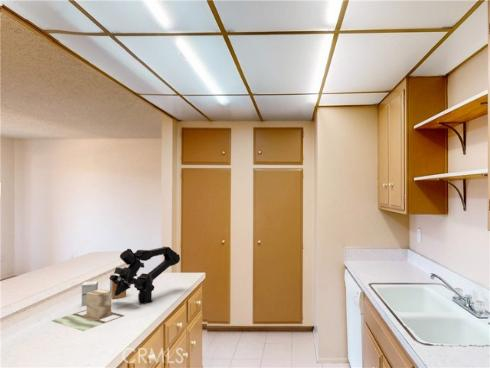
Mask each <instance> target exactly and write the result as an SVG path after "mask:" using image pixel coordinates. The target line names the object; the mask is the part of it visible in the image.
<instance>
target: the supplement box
mask: <svg viewBox="0 0 490 368" xmlns="http://www.w3.org/2000/svg"><path fill="white" fill-rule="evenodd" d="M96 290H99V281H98V280H96V281H95V280H94V281H84V282H83V283H82V284H81V307H87V293H88V292H92V291H96Z"/></svg>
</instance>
